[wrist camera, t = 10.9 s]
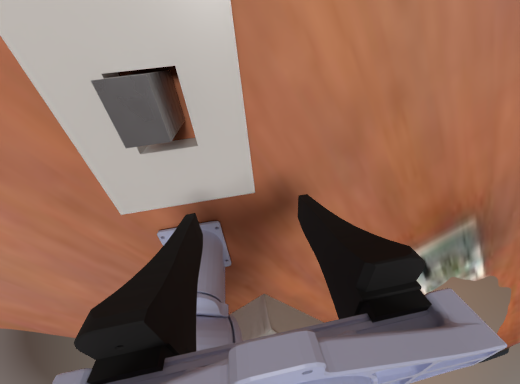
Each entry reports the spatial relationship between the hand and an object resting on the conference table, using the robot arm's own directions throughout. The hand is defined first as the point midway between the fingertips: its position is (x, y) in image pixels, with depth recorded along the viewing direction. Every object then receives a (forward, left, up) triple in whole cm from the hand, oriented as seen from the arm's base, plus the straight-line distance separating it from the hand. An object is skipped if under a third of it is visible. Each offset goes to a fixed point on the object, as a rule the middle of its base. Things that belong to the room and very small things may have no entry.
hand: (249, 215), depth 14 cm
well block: (+6, +6, -9) cm, 13 cm away
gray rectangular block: (+7, +6, -10) cm, 13 cm away
